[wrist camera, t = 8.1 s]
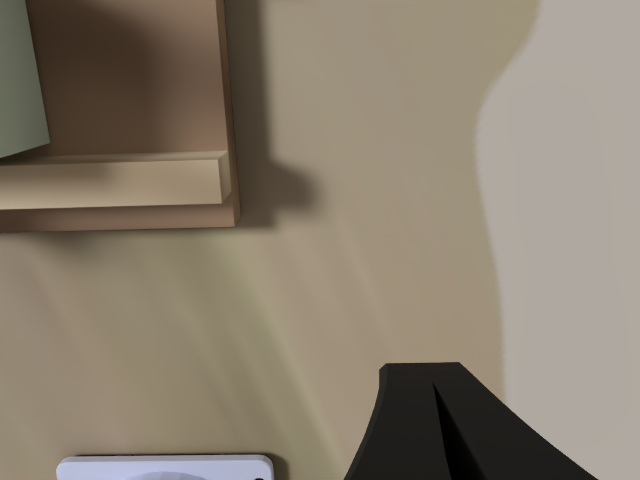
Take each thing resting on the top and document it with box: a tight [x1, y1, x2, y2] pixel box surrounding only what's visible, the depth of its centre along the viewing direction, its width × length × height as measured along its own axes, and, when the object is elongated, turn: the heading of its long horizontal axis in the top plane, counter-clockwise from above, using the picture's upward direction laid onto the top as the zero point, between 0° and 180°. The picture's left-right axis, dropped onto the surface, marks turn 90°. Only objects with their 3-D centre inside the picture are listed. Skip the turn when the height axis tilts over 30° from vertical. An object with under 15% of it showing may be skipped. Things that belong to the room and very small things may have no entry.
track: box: [0, 0, 241, 233], centre depth 15 cm, size 10×10×5 cm
